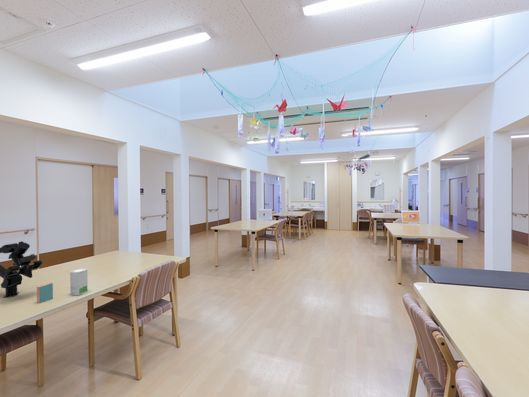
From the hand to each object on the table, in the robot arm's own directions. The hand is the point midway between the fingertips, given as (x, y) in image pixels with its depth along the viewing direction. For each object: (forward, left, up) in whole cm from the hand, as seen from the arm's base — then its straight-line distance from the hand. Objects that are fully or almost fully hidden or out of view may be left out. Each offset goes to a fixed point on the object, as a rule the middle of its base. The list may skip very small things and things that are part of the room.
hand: (31, 277), depth 173 cm
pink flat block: (+9, +8, -14) cm, 18 cm away
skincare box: (+6, +25, -14) cm, 29 cm away
